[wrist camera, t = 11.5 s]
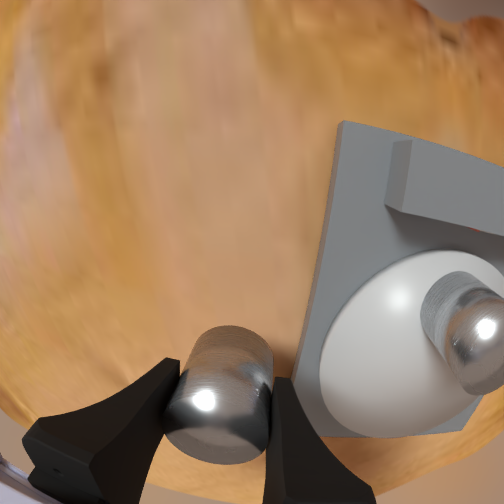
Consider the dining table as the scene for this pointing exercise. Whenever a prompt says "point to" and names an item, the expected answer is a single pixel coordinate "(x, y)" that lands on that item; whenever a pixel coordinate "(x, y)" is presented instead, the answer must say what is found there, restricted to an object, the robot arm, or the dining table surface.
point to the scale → (393, 283)
